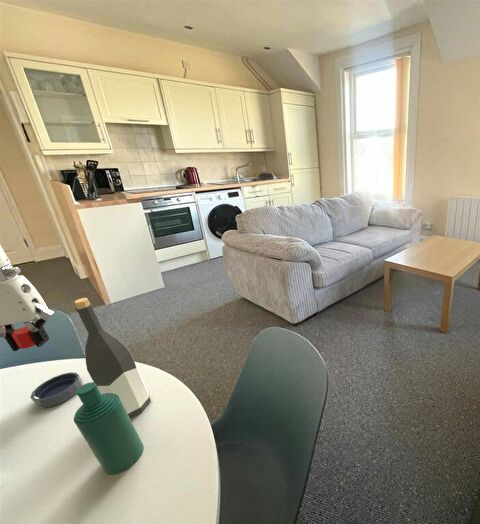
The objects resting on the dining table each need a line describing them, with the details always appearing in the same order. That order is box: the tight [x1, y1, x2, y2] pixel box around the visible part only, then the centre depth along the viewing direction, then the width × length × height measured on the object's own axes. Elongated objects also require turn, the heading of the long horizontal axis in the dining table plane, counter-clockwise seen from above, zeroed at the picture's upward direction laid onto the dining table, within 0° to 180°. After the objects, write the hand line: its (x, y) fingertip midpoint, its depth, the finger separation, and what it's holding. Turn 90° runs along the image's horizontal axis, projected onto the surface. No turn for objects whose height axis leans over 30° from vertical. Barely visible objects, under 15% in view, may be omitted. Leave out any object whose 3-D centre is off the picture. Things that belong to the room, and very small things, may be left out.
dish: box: [29, 371, 84, 409], centre depth 73 cm, size 9×9×3 cm
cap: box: [11, 325, 36, 350], centre depth 67 cm, size 4×4×4 cm
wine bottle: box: [74, 297, 152, 419], centre depth 63 cm, size 8×8×30 cm
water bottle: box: [73, 381, 145, 475], centre depth 54 cm, size 7×7×19 cm
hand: (31, 344), depth 68 cm, fingers closed on cap, 3 cm apart
